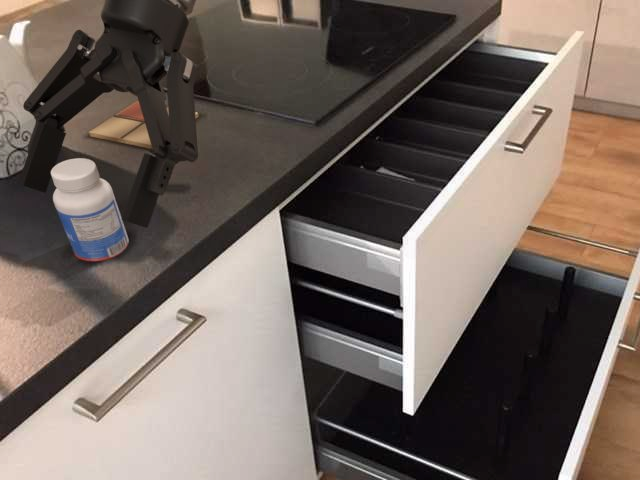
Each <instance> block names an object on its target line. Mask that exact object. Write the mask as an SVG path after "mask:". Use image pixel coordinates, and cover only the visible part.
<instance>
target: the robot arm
mask: <svg viewBox="0 0 640 480" xmlns="http://www.w3.org/2000/svg"><path fill="white" fill-rule="evenodd" d="M196 3H197V0H104V2H103V6H102V9H101V11H100V18H101V21H102V23H103V28H104V29H103V31H102V34H101V35H100V36H99V38H98V39H97V38H94V37H93V36H91V35H89V34H88V33H86V32H85V31H83V30H81V29H76V30H75V32H73V35H72V37H71V39H70V41H69V43H68V46H67V47H66V49H65V51H64V52H63V54H62V55H61V56H60V57H59V58H58V60H56V62H55V63H54V64H53V65H52V67H51V68H50V69H49V71H48V72H47V73H46V74H45V75H44V77H43V78H42V80H41V81H40V82H39V83H38V85H36V87H35V88H34V90H33V91H32V92H31V93H30V95H29V96H28V97H27V98H26V99H25V101H24V102H23V109H24V111H26V112H27V113H30V114H31V115H32V116H33V119H34V120H35V123H34V127H33V129H32V133H31V136H30V138H29V141H28V145H27V152H28V153H27V155H26V158H25V162H24V164H23V167H22V169H21V170H22V171H21V173H20V176H19V179H18V182H17V184H18V185H20V186H23V187H25V188H30V189H32V190H35V191H39V192H42V193H45V194H46V193H47V190H48V187H49V185H50V182H51V179H52V176H51V170H52V168H53V167H54V166H56V165H57V161H58V158H59V155H60V152H61V150H62V147H63V144H64V141H65V138H66V135H67V132H66V128H65V125H66V124H67V123H68V122H70V121H71V120H72V119H73V118H74V117H76V116H77V115H78V114H80V112H82V111H83V110H85V109H86V108H87V107H88V106H89V105H90V104H92V103H93V102H95V100H96V99H98V98H99V97H100V96H102V95H103V94H105V93H106V94H107V93H111V92H112V91H116V92H120V93H129V94H131V95H132V96H135V97H137V101H139V104H140V107H141V111H142V114H143V118H144V121H145V125H146V128H147V132H148V135H149V139H150V142H151V146H152V148H151V149H148V152H149V153H147V152H144V153H143V156H142V158H141V162H140V164H139V167H138V170H137V173H136V176H135V179H134V181H133V184H132V187H131V190H130V193H129V195H128V196H129V197H128V199H127V203H126V205H125V208H124V211H123V214H122V215H121V218H122V219H121V220H122V221H123V222H124V221H125V222H127V223H131V224H133V225H136V226H139V227H143V228H146V229H148V227H149V225H150V222H151V219H152V215H153V213H154V210H155V207H156V204H157V201H158V198H159V195H160V196H163V195H164V194H165V193H166V191H167V189H168V185H169V182H170V180H171V177H172V175H173V171H174V168H175V166H176V165H177V164H179V163H180V162H190V163H193V162H196V161H197V159H198V157H199V151H198V150H199V148H198V135H197V122H196V121H197V118H195V112H196V105H195V104H196V103H195V91H194V90H195V89H194V87H195V81H196V77H197V73H198V65H197V64H196V63H195V62H193V61H192V60H191V59H189V58H188V57H187V56H185V55H184V54H183V53H181V52H180V50H181V46H182V44H183V42H184V38H185V35H186V33H187V29H188V27H189V25H190V24H189V23H190V21H189V20H188V19H189V18H188V15H191V14H192V13H193V11H194V7H195V5H196ZM165 77H166V91H167V97H166V94H165V90H164V86H163V83H162V79H163V78H165ZM166 100H167V105H166V102H165V101H166ZM41 103H42V104H41ZM166 106H167V107H168V110H169V115H168V112H167V109H166Z"/></svg>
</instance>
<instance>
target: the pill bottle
mask: <svg viewBox="0 0 640 480" xmlns="http://www.w3.org/2000/svg"><path fill="white" fill-rule="evenodd" d="M51 179H52V181H53V182H52V183H53V185H54V187H55V190H54V191H53V194H52V201H53V205H54V207H55V209H56V212H57V214H58V216H59V219H60V222H61V225H62V227H63V229H64V232H65V234H66V237H67V239H68V242H69V244H70V247H71V250H72V251H73V254H74V256H75V257H76V258H78V259H79V260H81V261H86V262H102V261H105V260H110V259H112V258H115V257H117V256H118V255H120V254H122V253H123V252H124V251H125V250H126V249H127V247H128V245H129V243H130V242H129V241H130V240H129V237H128V233H127V230H126V226H125V225H124V220H121V219H122V214H121V212H120V208H119V206H118V203H117V201H116V200H117V199H116V197H115V193H114V191H113V188H112V186H111V184H110V183H109V182H108V181H107V180H106V179H104V178H102V177H100V172H99V170H98V166H97V165H96V163H95V161H93V160H91V159H90V158H85V157H83V158H82V157H76V158H69V159H66V160H63V161H61V162H58V163H56V164H55V166H54V167H53V168H52V170H51Z"/></svg>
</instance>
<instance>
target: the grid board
mask: <svg viewBox="0 0 640 480" xmlns="http://www.w3.org/2000/svg"><path fill="white" fill-rule="evenodd" d="M166 109H167V112H168V115H169V110H168V105H166ZM199 115H200V114H199V112H197V111H195V118H196V119H197V118H198V117H200V116H199ZM88 134H89V137H93V138H98V139H102V140H107V141H111V142H116V143H121V144H126V145H131V146H136V147H140V148H146V149H149V150H151V148H152V146H151V142H150V139H149V135H148V132H147V128H146V125H145V121H144V118H143V114H142V111H141V107H140V104H139V100H136V101H135V102H133V103H131V104H130V105H129V106H127V107H125V108H124V109H121V111H119V112H117V113H116V114H114V115H112V116H111V117H110V118H109V119H107V120H105V121H104V122H102V123H101V124H99V125H98V126H96V127H94V128H93V129H91V130H90V131H88Z"/></svg>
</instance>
